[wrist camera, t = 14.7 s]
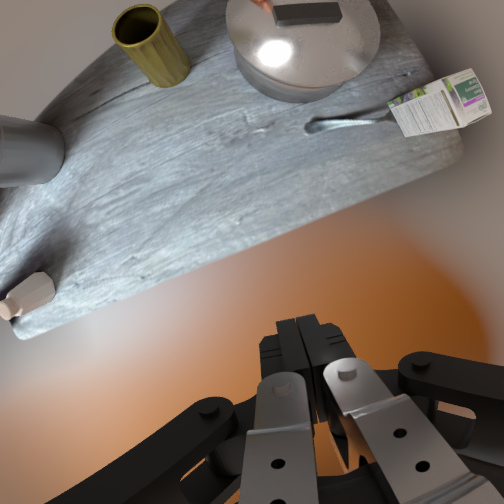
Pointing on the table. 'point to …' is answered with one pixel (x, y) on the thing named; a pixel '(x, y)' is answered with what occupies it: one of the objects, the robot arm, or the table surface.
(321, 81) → the pot lid
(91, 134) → the table surface
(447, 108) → the syrup box
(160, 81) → the vase
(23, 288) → the pepper shaker
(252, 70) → the steel pot
